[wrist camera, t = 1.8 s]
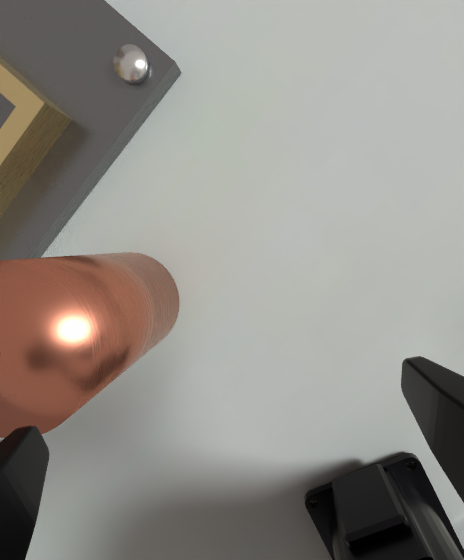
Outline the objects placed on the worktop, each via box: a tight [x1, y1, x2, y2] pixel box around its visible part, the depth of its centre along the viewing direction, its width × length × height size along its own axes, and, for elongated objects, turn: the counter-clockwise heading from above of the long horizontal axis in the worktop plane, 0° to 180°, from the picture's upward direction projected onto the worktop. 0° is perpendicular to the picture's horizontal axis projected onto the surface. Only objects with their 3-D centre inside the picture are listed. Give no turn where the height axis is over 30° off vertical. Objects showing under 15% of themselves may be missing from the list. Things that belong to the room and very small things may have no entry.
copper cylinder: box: [0, 253, 179, 438], centre depth 16 cm, size 8×6×10 cm
